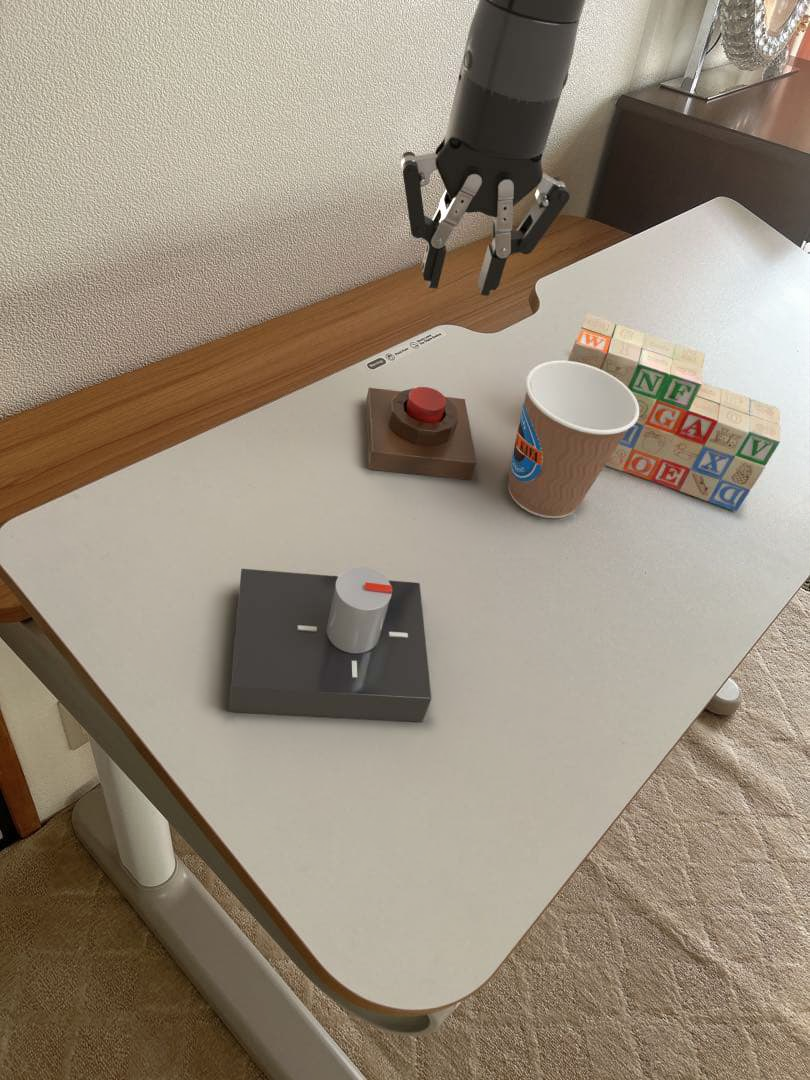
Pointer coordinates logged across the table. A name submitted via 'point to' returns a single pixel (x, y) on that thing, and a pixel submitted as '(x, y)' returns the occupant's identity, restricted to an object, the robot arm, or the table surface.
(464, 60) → the robot arm
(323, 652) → the stove panel
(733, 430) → the stack of blocks
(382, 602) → the stove knob
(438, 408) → the button
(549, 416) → the coffee cup
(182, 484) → the table surface
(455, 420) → the button block
